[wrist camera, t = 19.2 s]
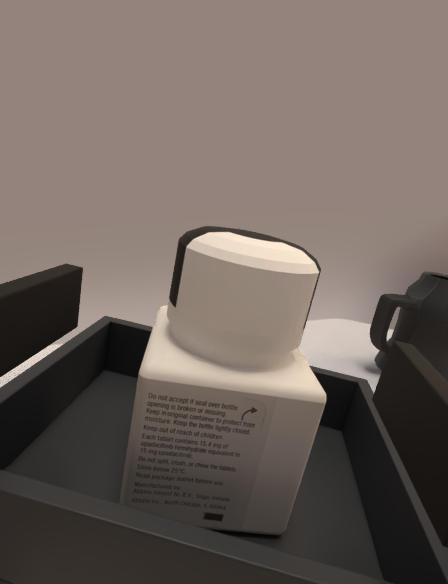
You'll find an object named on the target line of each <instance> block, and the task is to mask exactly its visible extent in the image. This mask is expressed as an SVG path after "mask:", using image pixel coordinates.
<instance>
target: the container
mask: <svg viewBox="0 0 448 584" xmlns="http://www.w3.org/2000/svg"><path fill="white" fill-rule="evenodd" d="M320 271H321V268H320V266H319V264H318V262H317V260H316V259H315V258H314V257H313V256H312V255H311V254H309V253H308V252H307V251H306V250H305V249H304V248H302V247H300V246H298V245H296V244H293V243H290V242H287V241H284V240H281V239H278V238H275V237H271V236H268V235H264V234H260V233H256V232H251V231H245V230H240V229H231V228H223V227H213V226H212V227H211V226H205V227H201V228H198V229H194V230H191V231H188V232H186V233H185V234H184V235H183V236H182V237H181V238H180V239H179V242H178V248H177V255H176V260H175V266H174V272H173V278H172V284H171V290H170V296H169V303H168V306H162V307H160V308H159V310H158V313H157V316H156V319H155V322H154V325H153V328H152V332H151V335H150V338H149V341H148V345H147V348H146V351H145V354H144V357H143V361H142V364H141V367H140V370H139V375H138V382H137V388H136V395H135V402H134V408H133V415H132V421H131V428H130V435H129V441H128V448H127V455H126V461H125V468H124V475H123V481H122V488H121V494H120V501H119V504H122V505H125V506H129V507H132V508H136V509H139V510H143V511H146V512H150V513H153V514H157V515H160V516H163V517H167V518H170V519H174V520H177V521H181V522H184V523H188V524H191V525H195V526H198V527H201V528H205V529H213V530H224V531H235V532H246V533H257V534H268V535H282V533H283V532H284V531H285V530H286V527H287V523H288V520H289V517H290V514H291V511H292V508H293V505H294V501H295V498H296V495H297V492H298V489H299V486H300V483H301V479H302V476H303V473H304V470H305V467H306V464H307V461H308V457H309V454H310V451H311V448H312V445H313V442H314V439H315V435H316V432H317V429H318V426H319V423H320V420H321V417H322V413H323V410H324V407H325V404H326V397H327V396H326V393H325V391H324V390H323V388H322V386H321V385H320V383H319V381H318V380H317V378H316V376H315V375H314V373H313V372H312V370H311V368H310V367H309V365H308V363H307V362H306V360H305V358H304V357H303V355H302V353H301V352H300V350H299V348H298V346H299V345H300V343H301V339H302V335H303V332H304V328H305V325H306V321H307V318H308V314H309V311H310V307H311V303H312V300H313V296H314V293H315V289H316V286H317V282H318V279H319V275H320Z"/></svg>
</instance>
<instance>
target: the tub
mask: <svg viewBox="0 0 448 584" xmlns="http://www.w3.org/2000/svg"><path fill="white" fill-rule="evenodd" d="M152 328H153V327H149V326H145V325H141V324H137V323H133V322H129V321H125V320H121V319H117V318H115V319H114V318H112V317H108V316H104V317H103V318H101V319H100V320H98V321H97V322H96V323H94V324H93V325H91V326H90V327H88V328H87V329H85V330H84V331H82V332H81V333H80V334H78V335H77V336H75V337H74V338H72V339H71V340H69V341H68V342H66V343H65V344H63V345H62V346H61V347H59V348H58V349H56V350H55V351H53V352H52V353H50V354H49V355H47V356H46V357H45V358H43V359H42V360H40V361H39V362H37V363H36V364H34V365H33V366H31V367H30V368H29V369H27V370H26V371H24V372H23V373H21V374H20V375H18V376H17V377H15V378H14V379H13V380H11V381H10V382H8V383H7V384H5V385H4V386H2V387H1V388H0V584H448V548H446V547H443V546H442V544H441V542H440V540H439V538H438V536H437V534H436V531H435V529H434V527H433V525H432V523H431V521H430V519H429V517H428V515H427V513H426V511H425V509H424V507H423V505H422V502H421V500H420V498H419V496H418V494H417V492H416V490H415V488H414V486H413V484H412V482H411V480H410V478H409V476H408V474H407V471H406V469H405V467H404V465H403V463H402V461H401V459H400V457H399V455H398V453H397V451H396V449H395V447H394V445H393V443H392V440H391V438H390V436H389V434H388V432H387V430H386V428H385V426H384V424H383V422H382V420H381V418H380V416H379V414H378V412H377V409H376V407H375V405H374V403H373V401H372V398H373V395H374V393H373V391H372V389H371V387H370V385H369V383H368V381H367V380H365V379H361V378H357V377H353V376H349V375H345V374H341V373H337V372H333V371H329V370H325V369H321V368H317V367H313V366H309V367H310V368H311V370H312V372H313V373H314V375H315V376H316V378H317V380H318V381H319V383H320V385H321V386H322V388H323V390H324V391H325V393H326V396H327V397H326V404H325V407H324V410H323V413H322V417H321V420H320V423H319V426H318V429H317V432H316V435H315V439H314V442H313V445H312V448H311V451H310V454H309V457H308V461H307V464H306V467H305V470H304V473H303V476H302V479H301V483H300V486H299V489H298V492H297V495H296V498H295V501H294V505H293V508H292V511H291V514H290V517H289V520H288V523H287V527H286V530H285V531H284V532H283V533H282V535H268V534H257V533H246V532H235V531H224V530H213V529H205V528H201V527H198V526H195V525H191V524H188V523H184V522H181V521H177V520H174V519H170V518H167V517H163V516H160V515H157V514H153V513H150V512H146V511H143V510H139V509H136V508H132V507H129V506H125V505H122V504H119V501H120V494H121V488H122V481H123V475H124V468H125V461H126V455H127V448H128V441H129V435H130V428H131V421H132V415H133V408H134V402H135V395H136V388H137V382H138V375H139V370H140V367H141V364H142V361H143V357H144V354H145V351H146V348H147V345H148V341H149V338H150V335H151V332H152Z"/></svg>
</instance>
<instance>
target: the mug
mask: <svg viewBox="0 0 448 584" xmlns="http://www.w3.org/2000/svg"><path fill="white" fill-rule="evenodd" d="M397 307H401V309H400V312H399V316H398V320H397V323H396V326H395V329H394V332H393V334H392V337H391V338H390V339H389V340H388V341H387V339H386V337H387V332H388V329H389V326H390V322H391V320H392V317H393V314H394V312H395V310H396V308H397ZM370 338H371V342H372V343H373V345H374V346H375V347H376V348H377V349H378V350H380V351H379V353H378V354H377V356H376V357H375V362H376V365H377V366H378V367H379V368H380V369H381V370H383V367H384V365H385V362H386V359H387V356H388V353H389V351H390V348H391V345H392V342H393V340H394V341H399V342H403V343H407V344H411V345H413V346H414V347H415V348H416V349H417V350H418V351H419V352H420V353H421V354H422V355H423V356H424V357H425V358H426V359H427V360H428V362H429V363H430V364H431V365H432V366H433V367H434V368H435V369H436V370H437V371H438V372H439V373H440V374H441V375H442V376H443V377H444V378H445V380H446V381H447V382H448V275H443V274H439V273H433V272H424V273H423V274H422V275H421V277H420V278H419V280H417V281H416V282H415V283H413V284H412V285H411V286H409V287H408V289H407V291H406V294H405V295H398V294H384V295H382V296H381V297H380V299H379V302H378V305H377V308H376V311H375V314H374V317H373V321H372V325H371V328H370Z"/></svg>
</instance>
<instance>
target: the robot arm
mask: <svg viewBox="0 0 448 584" xmlns="http://www.w3.org/2000/svg"><path fill="white" fill-rule="evenodd" d="M82 272H83V268H82V267H78V266H74V265H69V264H64V265H60V266H57V267H54V268H51V269H48V270H44V271H42V272H38V273H35V274H32V275H29V276H25V277H23V278H19V279H16V280H13V281H10V282H6V283H3V284H0V377H1V376H3V375H4V374H6V373H7V372H9V371H11V370H12V369H14V368H15V367H17V366H18V365H20V364H21V363H23V362H24V361H26V360H27V359H29V358H30V357H32V356H34V355H35V354H37V353H38V352H40V351H41V350H43V349H44V348H46V347H47V346H49V345H50V344H52V343H53V342H55V341H56V340H58V339H60V338H61V337H63V336H64V335H66V334H67V333H69V332H70V331H72V330H73V329H75V328H76V327H77V325H78V314H79V303H80V293H81V282H82ZM372 401H373V403H374V405H375V407H376V409H377V412H378V414H379V416H380V418H381V420H382V422H383V424H384V426H385V428H386V430H387V432H388V434H389V436H390V438H391V440H392V443H393V445H394V447H395V449H396V451H397V453H398V455H399V457H400V459H401V461H402V463H403V465H404V467H405V469H406V471H407V474H408V476H409V478H410V480H411V482H412V484H413V486H414V488H415V490H416V492H417V494H418V496H419V498H420V500H421V502H422V505H423V507H424V509H425V511H426V513H427V515H428V517H429V519H430V521H431V523H432V525H433V527H434V529H435V531H436V534H437V536H438V538H439V540H440V542H441V544H442V546H443V547H446V548H448V382H447V381H446V380H445V378H444V377H443V376H442V375H441V374H440V373H439V372H438V371H437V370H436V369H435V368H434V367H433V366H432V365H431V364H430V363H429V362H428V360H427V359H426V358H425V357H424V356H423V355H422V354H421V353H420V352H419V351H418V350H417V349H416V348H415V347H414V346H413V345H411V344H407V343H403V342H399V341H394V340H393V342H392V345H391V348H390V351H389V353H388V356H387V359H386V362H385V365H384V367H383V370H382V373H381V376H380V378H379V381H378V384H377V387H376V390H375V392H374V395H373V398H372Z"/></svg>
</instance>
